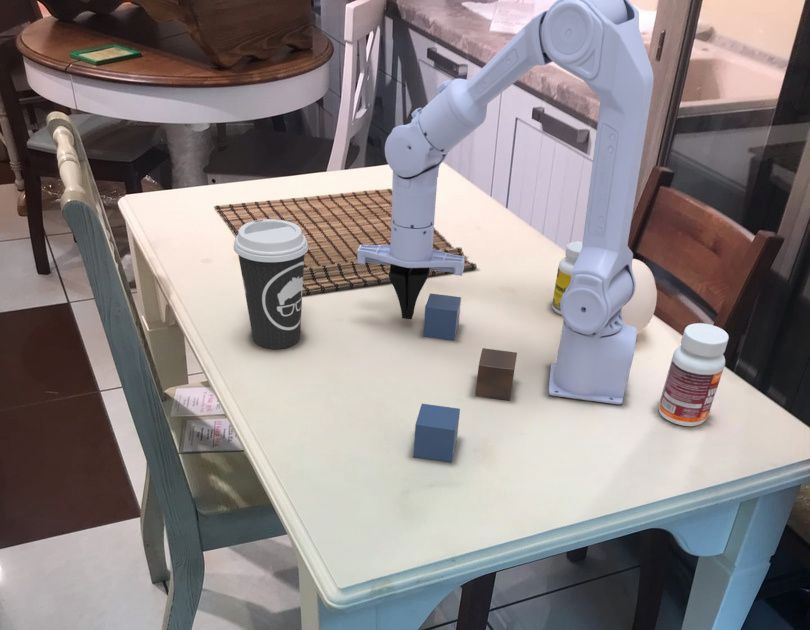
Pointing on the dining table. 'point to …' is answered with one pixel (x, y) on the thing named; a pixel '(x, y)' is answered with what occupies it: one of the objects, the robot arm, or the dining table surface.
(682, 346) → the pill bottle
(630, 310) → the egg
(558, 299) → the supplement bottle
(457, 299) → the blue block far
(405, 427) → the dining table surface
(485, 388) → the walnut block
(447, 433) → the blue block near
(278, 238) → the coffee cup
